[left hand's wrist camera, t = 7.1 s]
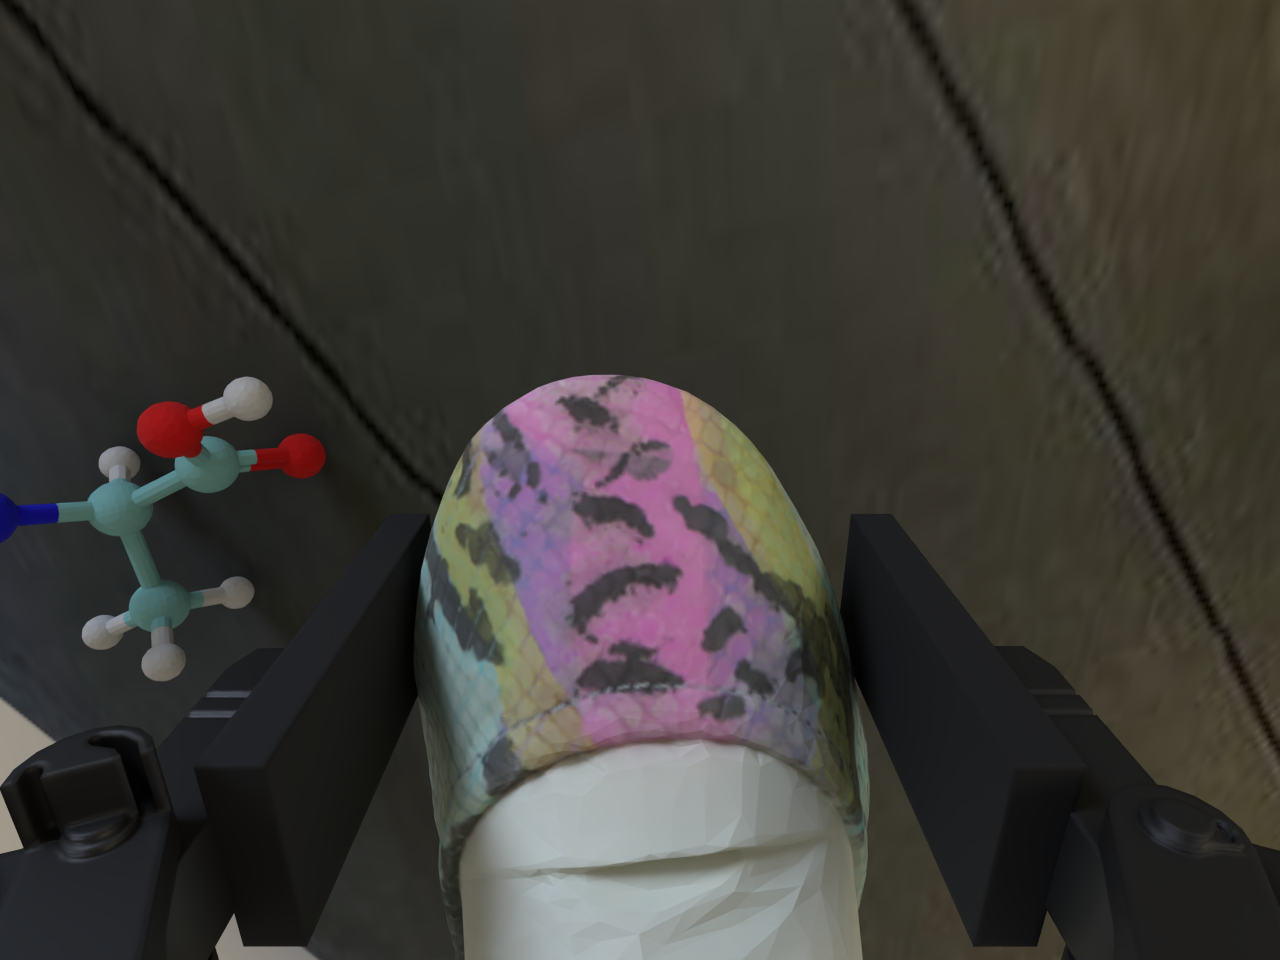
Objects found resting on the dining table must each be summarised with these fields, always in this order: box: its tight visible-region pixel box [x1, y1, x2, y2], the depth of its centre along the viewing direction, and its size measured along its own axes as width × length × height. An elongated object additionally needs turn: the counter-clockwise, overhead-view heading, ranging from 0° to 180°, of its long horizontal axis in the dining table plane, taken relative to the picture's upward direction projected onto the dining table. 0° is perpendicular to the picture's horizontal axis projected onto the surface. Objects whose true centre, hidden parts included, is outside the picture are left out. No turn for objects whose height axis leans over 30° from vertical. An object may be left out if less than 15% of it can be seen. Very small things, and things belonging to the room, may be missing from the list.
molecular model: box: [0, 377, 326, 681], centre depth 24 cm, size 12×10×10 cm
